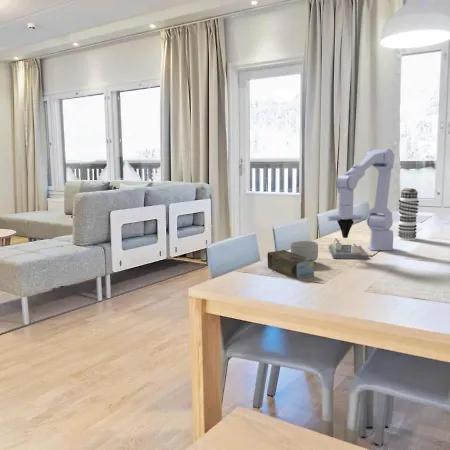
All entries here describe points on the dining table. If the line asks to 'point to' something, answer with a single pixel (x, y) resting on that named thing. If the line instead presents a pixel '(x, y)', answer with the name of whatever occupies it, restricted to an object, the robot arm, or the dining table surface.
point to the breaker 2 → (337, 245)
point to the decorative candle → (408, 214)
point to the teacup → (305, 249)
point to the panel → (347, 252)
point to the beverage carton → (291, 264)
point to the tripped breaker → (354, 248)
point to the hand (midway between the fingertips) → (345, 237)
